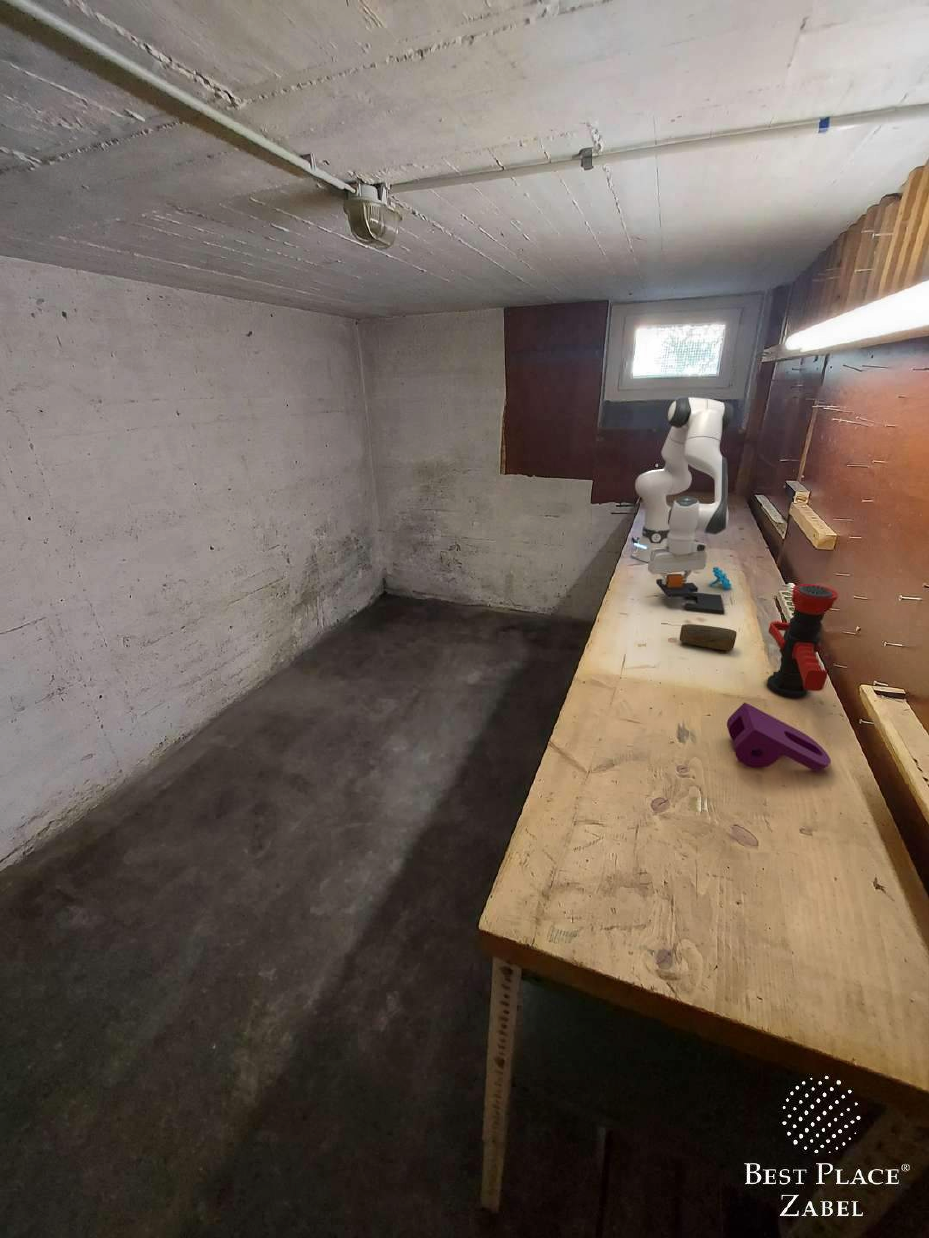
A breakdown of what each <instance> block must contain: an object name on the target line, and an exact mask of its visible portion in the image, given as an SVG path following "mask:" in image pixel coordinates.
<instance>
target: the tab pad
mask: <svg viewBox="0 0 929 1238" xmlns="http://www.w3.org/2000/svg"><path fill="white" fill-rule="evenodd" d="M683 575H684V574H682V573H667V576H666V578H667V579H668V580H669V582H668V584H665V585H664V584H662V580H663V579H662V578H656V580H655V583H656V585H657V586H658V587H659V589H660V590H661V591H662V592H663V594H664V596H666V597H667V598H684V597H692V593H691V592H694V593H699V587H698V586H697V585H696V584H695V583H694V582H684V583H683V579H684V576H683Z"/></svg>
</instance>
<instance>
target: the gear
mask: <svg viewBox="0 0 929 1238" xmlns="http://www.w3.org/2000/svg"><path fill="white" fill-rule="evenodd" d="M712 573H713V575H714V577H715V578H716V579H715V580H714V581H711V583H709V586H710V587H712V586H714V585H715V584H717V583H721V584H720V585H721V586H722V587H723V588H725V589H726V590H731V589H732V583H731V581H730V579H729V578H727V573H726V572H723V570H722V569H720V568H719V567H718V566H714V567H712Z"/></svg>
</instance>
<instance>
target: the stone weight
mask: <svg viewBox="0 0 929 1238" xmlns="http://www.w3.org/2000/svg"><path fill="white" fill-rule="evenodd" d="M737 635H738V633H737V631H736V630H734V629H730V628H726V627H719V626H713V625H704V624H695V623H685V624H682V625H681V627H680V632H679V637H678V640H679V641H680V642H683V643H685V644H688V645H692V646H696V647H700V648H701V647H703V648H708V649H713V650H719V651H721V650H722V651H732V650H733V649H734V647H735V644H736V640H737Z"/></svg>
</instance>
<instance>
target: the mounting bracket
mask: <svg viewBox="0 0 929 1238" xmlns="http://www.w3.org/2000/svg"><path fill="white" fill-rule="evenodd" d="M726 728H727V731H728V734H729V737H730V739H731V740H732V741H733V742H732V748H733V752H734V755H735V757H736V759H737V760H738V762H739V763H741V765H744V766H746V767H748V768H753V769H754V768H755V769H762V768H766V767H770V766H771V765H773V764H774V763H775V762H777V761H778V760H779V759H780V758H781V757H787V758H788V759H791V760H793V761H795V762H797V763H798V764H800V765H802V766H804V767H806V768H808V769H810V770H812V771H815V772H822V771H823V770H825V769H826V768H828V766H830V765H831V763H832V760H831V757H830V756H829V754H828V753H827V752H826V750H825V749H824V748H823V746H821V745H820V744H819V743H818V742H817V741H816V740H814V739H813V738H812V737H810V736H809V735H808V734H806V733H804V732H803V731H801V730H799V729H797V728H795V727H794V726H791V725H789V724H787V723H785V721H781V720H780V719H778V718H776V717H774V716H772V715H771V714H768V713H766V712H765V711H763V710H761V709H758V708H756V707H755V706H753V705H751V704H750V703H747V702H745V701H744V702H743V703H742V704H741V705H740V706H739V707H738V708H737V709H736V710H735V711H734V712H733V713H732V714H731V715H730V716H729V718H728V719H727V721H726Z"/></svg>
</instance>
